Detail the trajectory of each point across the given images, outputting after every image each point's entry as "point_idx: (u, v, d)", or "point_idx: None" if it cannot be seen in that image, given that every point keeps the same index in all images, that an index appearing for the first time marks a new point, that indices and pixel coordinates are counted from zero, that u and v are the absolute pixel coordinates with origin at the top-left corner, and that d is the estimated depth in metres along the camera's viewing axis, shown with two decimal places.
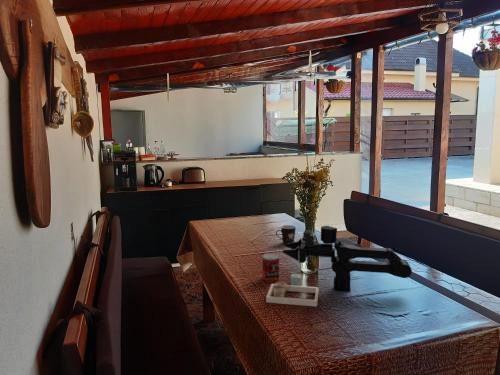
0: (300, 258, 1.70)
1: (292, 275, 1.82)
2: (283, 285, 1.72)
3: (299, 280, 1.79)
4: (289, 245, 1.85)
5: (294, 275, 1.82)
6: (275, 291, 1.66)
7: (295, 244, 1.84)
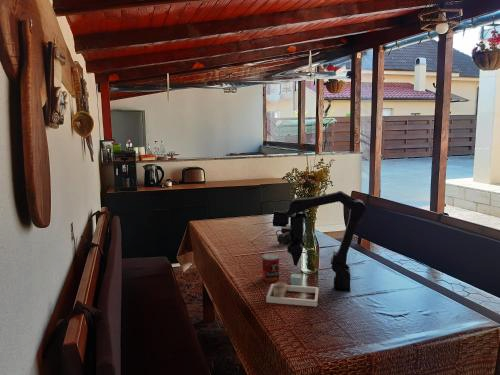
0: (297, 251, 1.70)
1: (292, 275, 1.82)
2: (283, 285, 1.72)
3: (299, 280, 1.79)
4: None
5: (294, 275, 1.82)
6: (275, 291, 1.66)
7: None
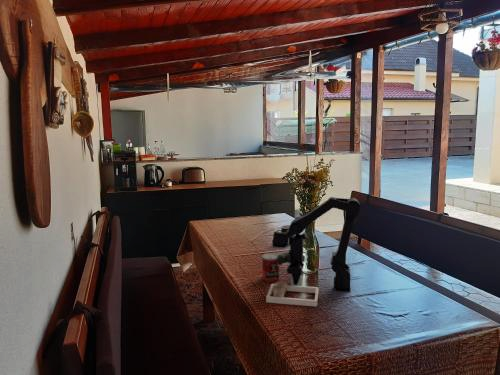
0: (296, 272, 1.71)
1: None
2: (283, 285, 1.72)
3: (299, 280, 1.79)
4: None
5: None
6: (275, 291, 1.66)
7: None
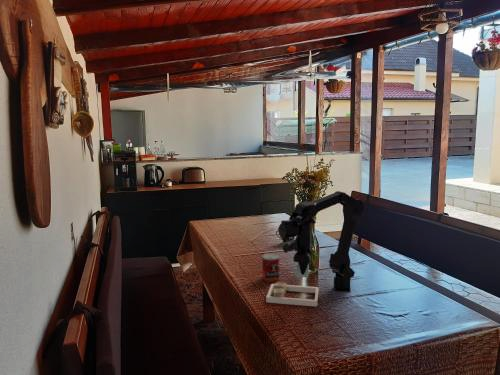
0: (304, 261, 1.57)
1: None
2: (283, 285, 1.72)
3: (306, 269, 1.64)
4: None
5: None
6: (275, 291, 1.66)
7: None
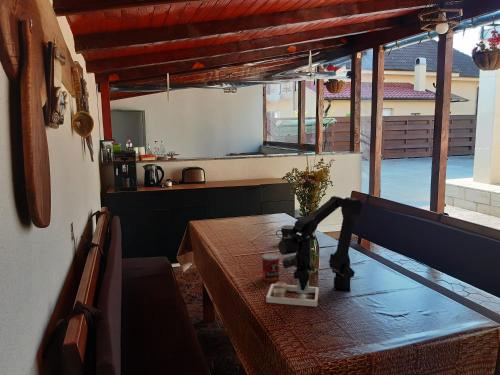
0: (304, 277, 1.58)
1: None
2: (283, 285, 1.72)
3: (306, 285, 1.65)
4: None
5: None
6: (275, 291, 1.66)
7: None
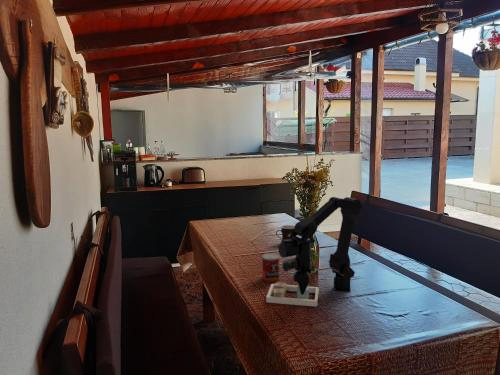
0: (304, 280, 1.58)
1: (298, 287, 1.69)
2: (283, 285, 1.72)
3: (306, 293, 1.66)
4: None
5: None
6: (275, 291, 1.66)
7: None
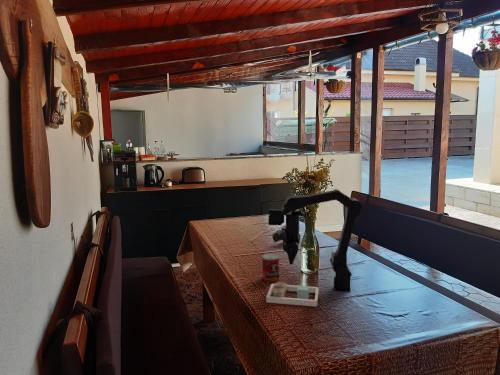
0: (293, 249, 1.67)
1: (298, 287, 1.69)
2: (283, 285, 1.72)
3: (306, 293, 1.66)
4: None
5: (301, 287, 1.69)
6: (275, 291, 1.66)
7: None
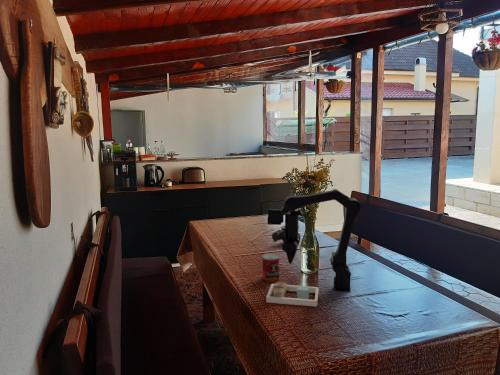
0: (291, 249, 1.68)
1: (298, 287, 1.69)
2: (283, 285, 1.72)
3: (306, 293, 1.66)
4: None
5: (301, 287, 1.69)
6: (275, 291, 1.66)
7: None
